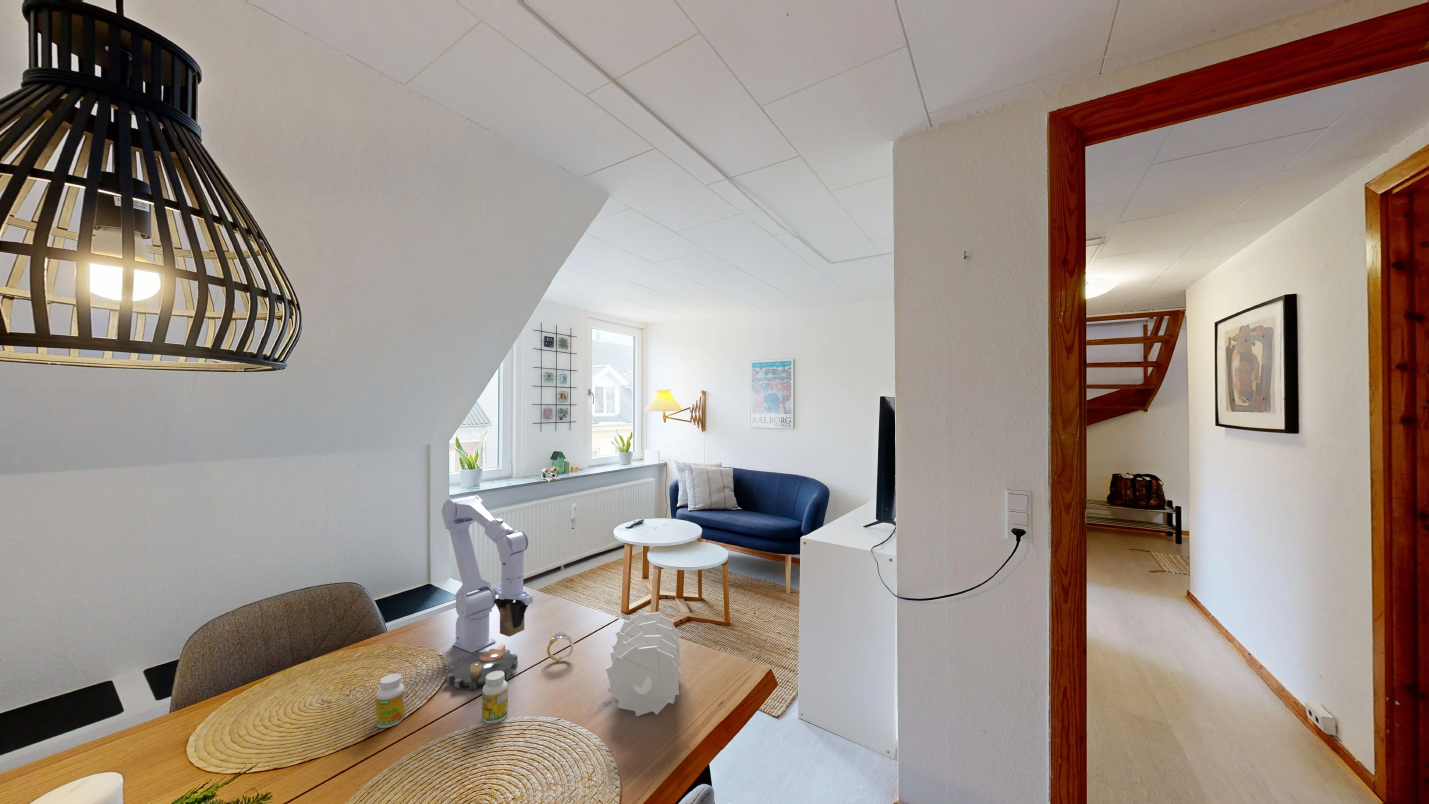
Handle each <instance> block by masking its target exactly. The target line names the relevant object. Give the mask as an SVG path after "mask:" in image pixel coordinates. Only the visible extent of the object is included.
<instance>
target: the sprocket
mask: <svg viewBox="0 0 1429 804" xmlns="http://www.w3.org/2000/svg"><path fill="white" fill-rule="evenodd" d="M496 649H497V648H490V649H489V650H485V651H481V652H480V651H479V650H477V651H475V652H472V654H471V655H467V656H466V657H464V656H462V657H460V658H458V659H457V660H456V663H455V664H454V665H453V664H450V666H449V667H448V671H447V672H448V673H447V675H446V676H447V677H446V679H447V682H448V683H452V682H453V687H455V688H457V689H458V688H461V687H469V690H470V689H471V690H472V689H477V688H478V686H484V685H485V684H486V682H485V679H486V675H487V674H489V673H491V672H494V671H503V672H504V674H505V679H508V678H509V677H510V676H512V671H513V670H514V671H515V670H517V669H518V667H519V661H518V655H517V653H513V654H512V653H511V650H509V649H506V648H505V650H503V651H501V650H496Z"/></svg>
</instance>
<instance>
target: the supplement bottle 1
mask: <svg viewBox="0 0 1429 804" xmlns="http://www.w3.org/2000/svg"><path fill="white" fill-rule="evenodd" d="M375 697H376V699H375V701H376V702H375V724H376V727H377V728H380V729H385V728H387V729H388V728H391V727H394V726H395V725H398V724H399V723H401V722H402V721H403V719H404V718H405V684H403V683H402V675H401V674H400V673H390V674H388V675H385V676H383V677H382V678H381V679H380V681H379V689H378V690H377V691H376V695H375Z"/></svg>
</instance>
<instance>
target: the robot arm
mask: <svg viewBox="0 0 1429 804" xmlns="http://www.w3.org/2000/svg"><path fill="white" fill-rule="evenodd" d="M441 516H442V519H443V523H444V527H445V529H446V530H447V531H448V532H449V535H450V540H451V544H452V548H453V552H454V556H455V560H456V564H457V568H458V573H459V576H460V580H461V584H462V585H461V586H460V588H459V589H458V590H457V591H456V593H455V594H454V596H455V597H454V598H455V611H456V613H457V615H458V617H457V618H456V621H455V641H454V642H453V643H452V646H455V647H457V648H459V649H462V650H464V651H466V652H469V653H471V654H473V653H474V652H477V651H479V650H481V649H483V648H486V647H487V646H490V645H491V644H494V643H496V639H494V638H491V637H490V613H492V611H493V608H494V607H495V606H496V608H497V609H498V612H499V613H500V608H502V607H504V606H506V605H507V604H509V607H510V609H511V612H512V619H513V627H514V628H517V627H519V626H521V624H522V620H523V616H524V617H525V613H526V611H527V609H528V607H529V605H531V604H533V602H534V601H533V600H534V596H533V595H531V594H530V593H528V592H527V591H526V590H524V555H525V554H524V552H525V551H527V549H528V547H529V539H528V538H529V537H528V536H527V534H526V533H525V532H524V531H523V530H514V529H513V527H511V526H510V525H508V523H506V522H505V520H504V519H503V518H494V516H493V515H492V514H491V513H490V512H489V511H488V510H487V509H486V508H485V507H484V501H483V499H482V498H481V497H480V496H479V495H476V494H473V495H471V496H469V495H468V496H463V497H458V498H448V499H446V500H445V501H444V503H443V504H442V508H441ZM474 523H477V524H478V525H480V526H481V527H483V529H484V533H485V534H484V535H486V536H487V537H488V538H489V539H490V540H491V541H492V542H493V543H494V544H495V545H496V549H497V553H498V554H499V562H501V571H500V572H501V573H500V574H501V582H500V583H501V584H500V585H501V586H500V585H497V586H495V587H492V585H491V582H490V581H488V580H485V579H483V578H482V576H481V571H480V568H479V564H478V562H477V557H476V553H475V549H474V546H473V542H472V538H471V534H470V533H471V532H470V527H471V526H472V525H473V524H474ZM497 596H498V597H497Z"/></svg>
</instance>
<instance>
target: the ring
mask: <svg viewBox="0 0 1429 804" xmlns="http://www.w3.org/2000/svg"><path fill="white" fill-rule="evenodd" d="M554 634H555V635H552V637H551V638H550V640H548V641H549V642H548V643H547V647H546V652H547V656H548V657H549V658H550V659H551V660H553V661H554V662H559V663H561V662H563V661H566V660H568V659H569V658H570V657H571V656H572V653H573V650H574V646H575V645H574V641H573V639H572V638H571V636H569V635H568V633H567V632H565V631H562V632H561V631H560V630H559V631H558V633H554ZM558 640H567V641H568V643H569V644H570V650H569V652H568V653H567V655H565V656H559V657H556V656H554V655H553V654H552V652H551V646H552V645H553V644H554V643H556V642H557V641H558Z"/></svg>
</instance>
